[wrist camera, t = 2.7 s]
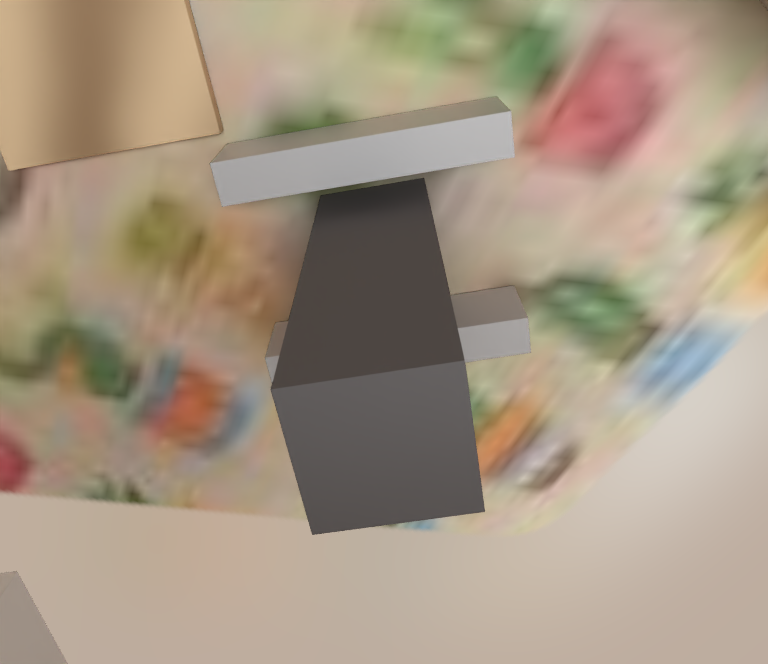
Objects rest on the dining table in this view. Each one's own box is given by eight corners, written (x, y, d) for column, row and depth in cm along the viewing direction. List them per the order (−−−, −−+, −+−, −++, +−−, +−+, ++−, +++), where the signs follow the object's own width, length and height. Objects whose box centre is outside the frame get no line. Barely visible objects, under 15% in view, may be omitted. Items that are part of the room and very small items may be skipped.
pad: (16, 166, 26) (8, 170, 26) (-84, -78, 23) (-95, -79, 22) (223, 130, 26) (220, 133, 25) (154, -127, 22) (149, -129, 21)
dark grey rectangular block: (340, 289, 29) (312, 534, 16) (320, 195, 27) (270, 389, 14) (437, 274, 28) (484, 511, 16) (423, 178, 26) (464, 360, 14)
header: (283, 353, 30) (274, 390, 27) (227, 143, 26) (209, 163, 23) (516, 317, 29) (530, 352, 26) (496, 96, 25) (510, 110, 22)
